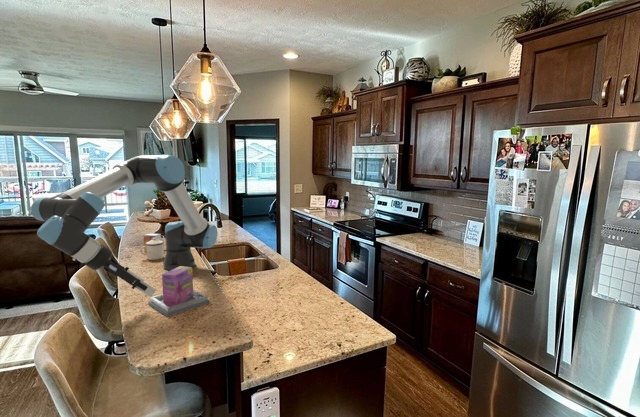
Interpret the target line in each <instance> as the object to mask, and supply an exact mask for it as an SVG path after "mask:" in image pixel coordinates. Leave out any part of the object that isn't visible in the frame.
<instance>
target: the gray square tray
mask: <svg viewBox="0 0 640 417" xmlns="http://www.w3.org/2000/svg"><path fill="white" fill-rule="evenodd" d="M197 298H198V297H196V296H194V295H193V297H191V298H190V299H188V300H187V301H190V300H193V299H197ZM159 301H160V302H162V303H163V299H160V300H159ZM187 301H185V302H187ZM210 302H211V301H210V299H208V300H207V301H203V302H200V303H197V304H194V305H191V306H188V307H184V308H181V309H178V310H175V311H172V312H168V313H167V312H166V311H164V310H163V309H161V308H160V307H158V306H157V305H155V304H153V303H152V302H150V300H147V303H148V306H150V307H151V308H153V309H155V310H156V311H157V312H159V313H161V314H162V315H164V316H165V317H166V318H168V317H171V316H175V315H177V314H180V313H184V312H187V311H191V310H193V309H196V308H200V307H202V305H203V306H205V304H206V305H208V303H209V304H210ZM183 303H184V302H183ZM169 307H170V306H169Z"/></svg>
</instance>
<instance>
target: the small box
mask: <svg viewBox="0 0 640 417" xmlns="http://www.w3.org/2000/svg"><path fill="white" fill-rule="evenodd" d="M152 238H156V239H158V240H160V241H162V235H161V233H147V234H143V246H146V243H147V242H149V241H150V240H153V239H152ZM143 251H144V252H143V253H147V249H146V248H143Z"/></svg>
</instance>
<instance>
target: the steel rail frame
mask: <svg viewBox="0 0 640 417" xmlns="http://www.w3.org/2000/svg"><path fill="white" fill-rule="evenodd" d="M193 295H194V296H196V297H198V298H197V299H193V300H190V301H187V302H184V303H180V304H177V305H174V306H170V307H169V306H167V305H165V304H164V303H162V302H160V301H159V300H160V299H163V293H162V294H158V295H152V296H151V297H150V296H149V301H150V302H152V303H153V304H155V305H157V306H158V307H160V308H161V309H163V310H164V311H166V312H167V313H168V312H172V311H175V310H178V309H181V308H184V307H188V306H191V305H194V304H197V303H200V302H203V301H207V300H209V298H208V296H207V295H206V294H204V293H202V292H199V291H198V290H195V289H193Z"/></svg>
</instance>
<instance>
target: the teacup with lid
mask: <svg viewBox="0 0 640 417" xmlns="http://www.w3.org/2000/svg"><path fill="white" fill-rule="evenodd" d="M152 239H153V240H150V241H149V242H147V243H146V246H144V245H143V246H141V247H140V250H139V251H140V253H141V255H143V256H146V259H147V260H149V261H159V260H161V259H165V252H164V251H165V250H164V241H163V240H161V241H160V240H158V239H156V238H152ZM144 248H146V249H147V252H146V253H145V252H143V251H142V249H144Z"/></svg>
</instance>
